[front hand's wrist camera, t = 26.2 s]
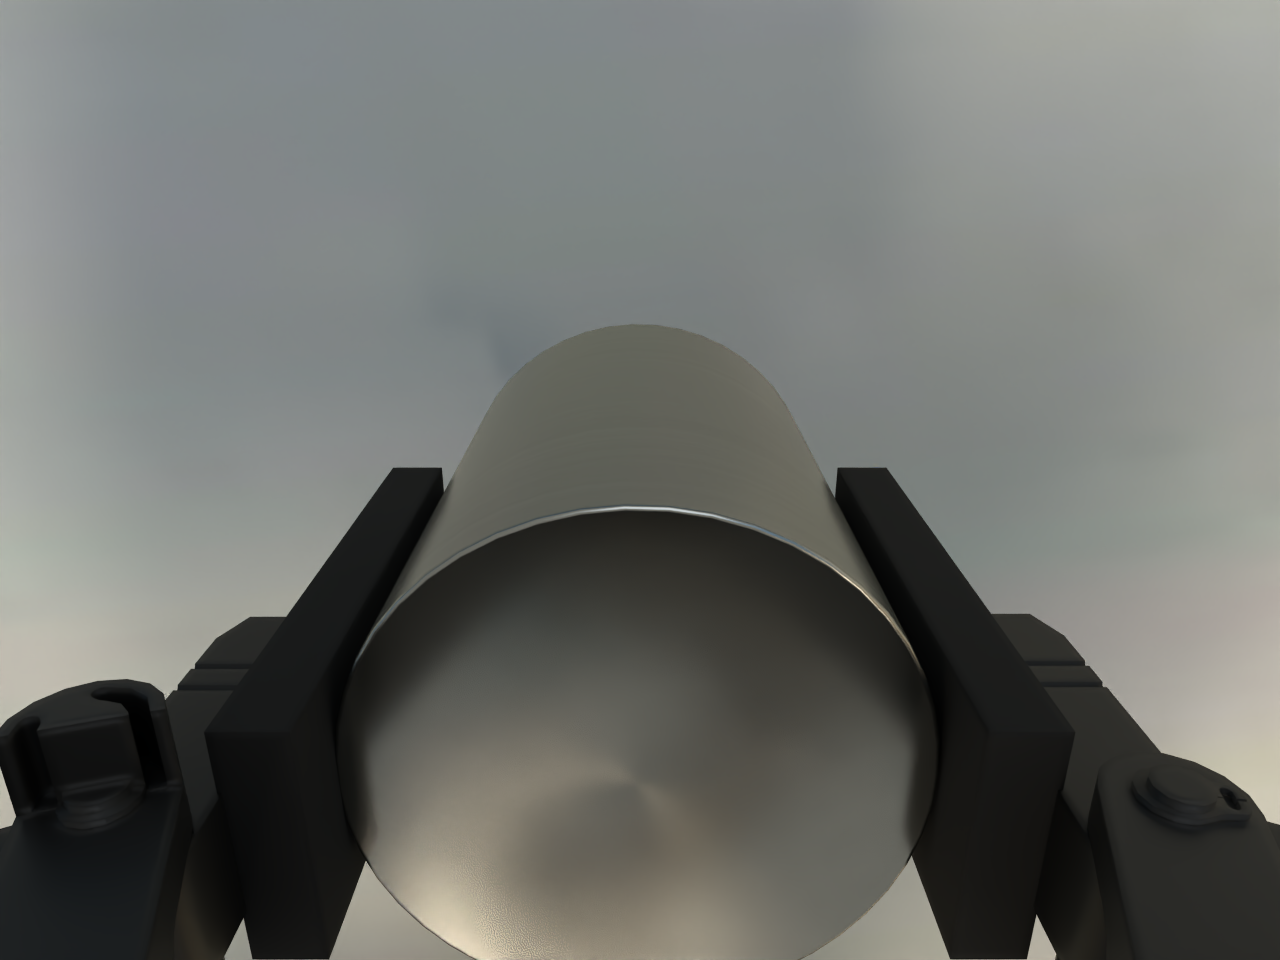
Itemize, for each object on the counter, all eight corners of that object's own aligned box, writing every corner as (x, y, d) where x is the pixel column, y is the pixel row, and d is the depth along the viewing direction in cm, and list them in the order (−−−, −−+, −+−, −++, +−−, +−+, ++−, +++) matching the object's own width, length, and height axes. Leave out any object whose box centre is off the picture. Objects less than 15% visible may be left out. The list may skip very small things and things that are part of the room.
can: (779, 648, 18) (877, 1018, 10) (466, 622, 17) (341, 981, 10) (834, 340, 15) (1007, 536, 8) (475, 307, 15) (322, 476, 8)
